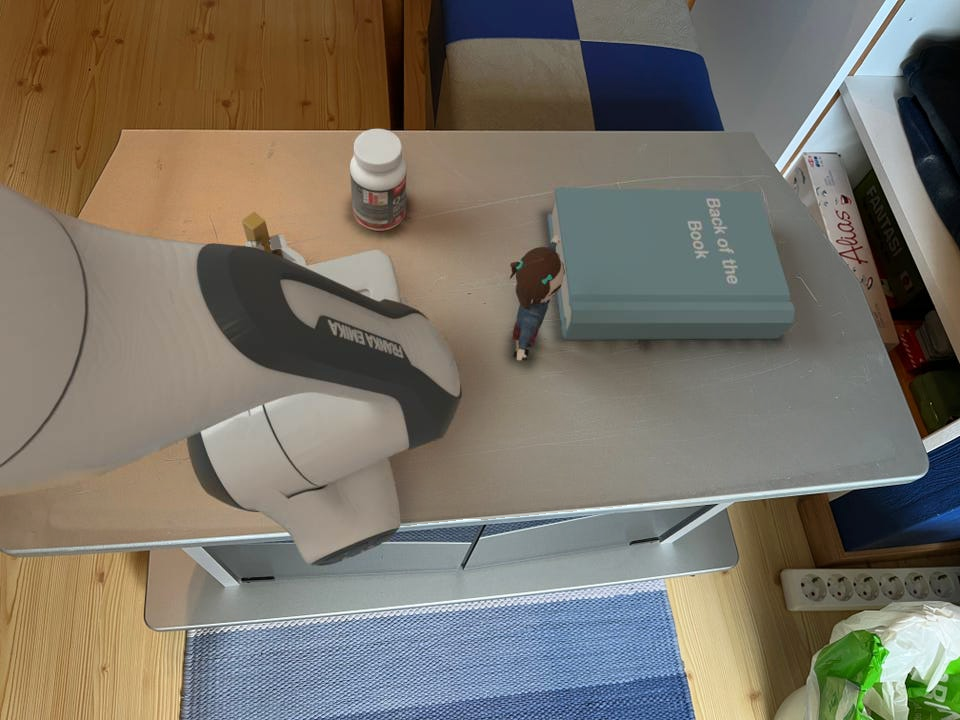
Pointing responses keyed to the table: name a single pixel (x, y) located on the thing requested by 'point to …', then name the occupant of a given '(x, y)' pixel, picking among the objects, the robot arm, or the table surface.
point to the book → (668, 265)
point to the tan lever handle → (256, 229)
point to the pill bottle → (378, 180)
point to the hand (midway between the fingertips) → (265, 241)
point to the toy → (535, 292)
